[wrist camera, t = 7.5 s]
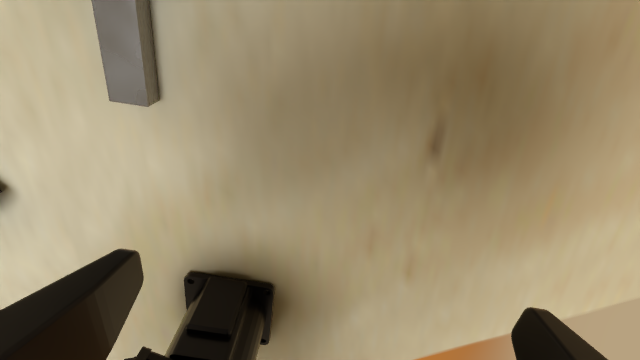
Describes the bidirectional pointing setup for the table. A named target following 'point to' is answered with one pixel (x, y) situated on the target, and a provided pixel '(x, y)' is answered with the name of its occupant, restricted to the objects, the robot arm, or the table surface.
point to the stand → (127, 50)
